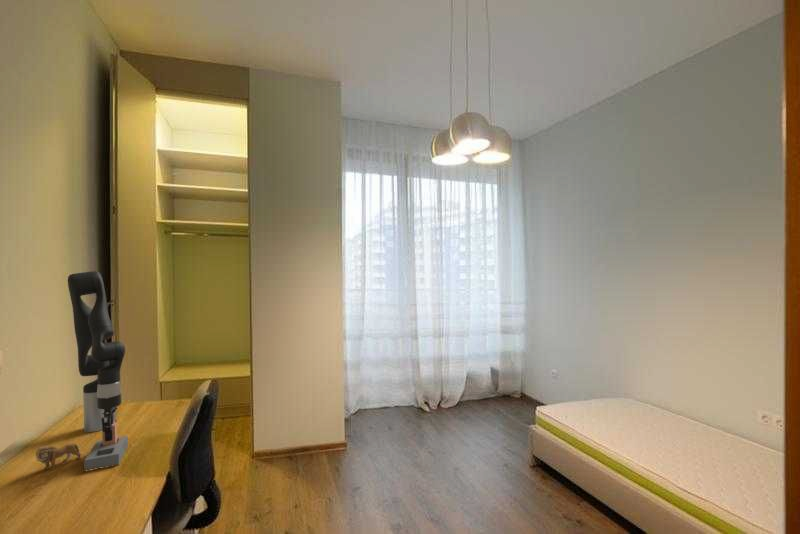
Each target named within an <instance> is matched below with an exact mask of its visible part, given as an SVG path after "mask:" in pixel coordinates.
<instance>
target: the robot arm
mask: <svg viewBox="0 0 800 534" xmlns="http://www.w3.org/2000/svg"><path fill="white" fill-rule="evenodd" d="M67 287H68V293H69V296H70V301H71V306H72V314H73V326H74V333H75V339H76V345H77V362H78V372H79V375H80V376H81V377H92V376H97V379H95V380H93V381H91V382H88V383H86V384H85V385H84V386H83V390H82V391H83V392H82V393H83V394H82V398H83V402H82V403H83V431H84V432H85V433H95V432H98V431H102V428H103V432H105V441H111V440H112V430H113V428H112V426H113V424H114V423H115V422H118V421H117V414H118V412H117V411H118V407H119V406H121V404H122V384H121V367H122V364H123V361H124V357H125V354H126V345H124V343H123V342H122V341H111V342H109V341H108V342H104V343H103V341H106V340H108V339H110V338H112V337H113V336H114V335H115V334H114V333H115V331H114V328H113V325H112V321H111V318H110V315H109V310H108V309H109V307H108V301H107V294H106V289H105V288H106V287H105V284H104V279H103V277H102V274H101V273H100V272H99V271H96V270H92V271H84V272H76V273H72V274H69V275H68V277H67ZM92 294H93V295H94V294H95V297H96V299H95V302H94V305H93V307H92V308H91V307H90V306H88V304H86V302H85V301H84V300H83V299H82V296H88V295H92ZM90 350H91V351H90ZM89 352H91V354H89ZM106 426H109V428H106Z"/></svg>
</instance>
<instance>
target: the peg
mask: <svg viewBox="0 0 800 534" xmlns="http://www.w3.org/2000/svg"><path fill="white" fill-rule="evenodd" d="M106 428H109V426H106ZM112 428H113V430H112V440H111V441H105V432H103V428H102V430H101V434H102V439H101V440H102V443H103V446H107V445H113V444H117V438H118V421H116V422H115V423H114V424H113V426H112Z"/></svg>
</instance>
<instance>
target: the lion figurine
mask: <svg viewBox="0 0 800 534" xmlns="http://www.w3.org/2000/svg"><path fill="white" fill-rule="evenodd" d="M65 454H66V458H65V459H63V460H62V461H63V462H68V460H69V459H70V458H71V456H72V455H75V456H77V457H75V460H77V461H78V460H80V459H81V455H82V453H80V449H79V446H78V445H77V444H76V443H75V442H68V443H65V444H64V445H62V446H59V447H54V446H49V445H43V446H40V447H39V448H38V449H37V450H36V452H35V458H36V460H37V461H38V462H40V463H42V464H45V467H43V470H44V471H45V470H47V469H50V471H53V470H55V468H56V465H55V464H56V460H57V459H58V458H61V457H64V456H65ZM50 463H51V466H50Z"/></svg>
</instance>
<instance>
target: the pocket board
mask: <svg viewBox="0 0 800 534" xmlns="http://www.w3.org/2000/svg"><path fill="white" fill-rule="evenodd" d="M128 438H129V437H128V435H123V436H117V444H113V445H107V446H103V443H102V439H99V440H97V441H96V442H95V444H94V445H93V447H92V448H91V450H90V451H89V452H88V454H87V455H86V457H85V458H84V460H83V462H84V465H83V466H84V468H83V469H84V471H86V470H90V469H95V468H100V467H106V466H111V467H113V466H112V465H117V466H120V464H119V463H121V462H120V461H122V459H123V457H124V455H125V454H126V453H125V452H126V450H127V448H128V446H129V439H128ZM106 468H107V467H106ZM86 472H87V471H86Z"/></svg>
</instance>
